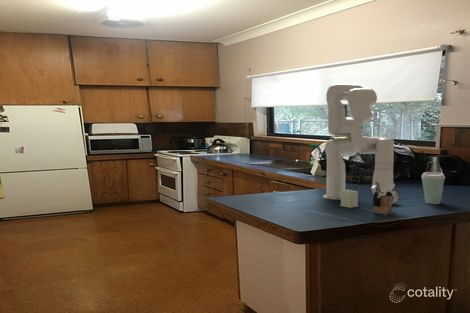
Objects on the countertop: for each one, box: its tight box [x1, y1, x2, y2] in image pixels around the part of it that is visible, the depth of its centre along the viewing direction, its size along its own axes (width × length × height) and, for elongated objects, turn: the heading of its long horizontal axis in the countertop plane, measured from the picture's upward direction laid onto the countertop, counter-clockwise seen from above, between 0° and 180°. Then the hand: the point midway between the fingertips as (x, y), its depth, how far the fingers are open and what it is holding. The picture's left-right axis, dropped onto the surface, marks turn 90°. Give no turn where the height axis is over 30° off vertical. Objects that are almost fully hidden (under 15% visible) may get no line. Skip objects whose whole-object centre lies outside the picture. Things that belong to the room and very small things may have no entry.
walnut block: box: [373, 195, 393, 215], centre depth 175 cm, size 6×6×7 cm
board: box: [339, 204, 394, 216], centre depth 182 cm, size 14×24×1 cm, turn 39°
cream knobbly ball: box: [381, 189, 401, 205], centre depth 193 cm, size 9×8×10 cm
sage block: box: [340, 189, 359, 208], centre depth 189 cm, size 6×6×7 cm
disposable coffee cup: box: [421, 171, 446, 205], centre depth 196 cm, size 11×11×15 cm
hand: (382, 204), depth 175 cm, fingers open, 9 cm apart
